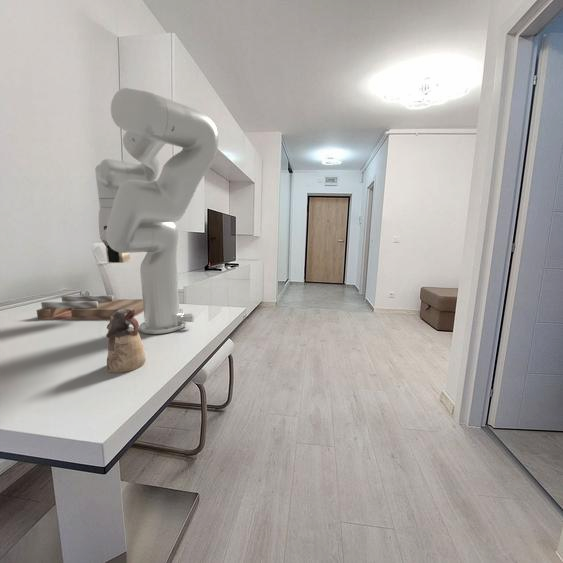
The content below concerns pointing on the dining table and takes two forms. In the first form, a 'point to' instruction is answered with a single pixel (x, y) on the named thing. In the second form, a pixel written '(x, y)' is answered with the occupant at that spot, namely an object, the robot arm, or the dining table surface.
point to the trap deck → (88, 307)
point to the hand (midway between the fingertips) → (119, 260)
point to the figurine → (124, 343)
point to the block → (121, 257)
